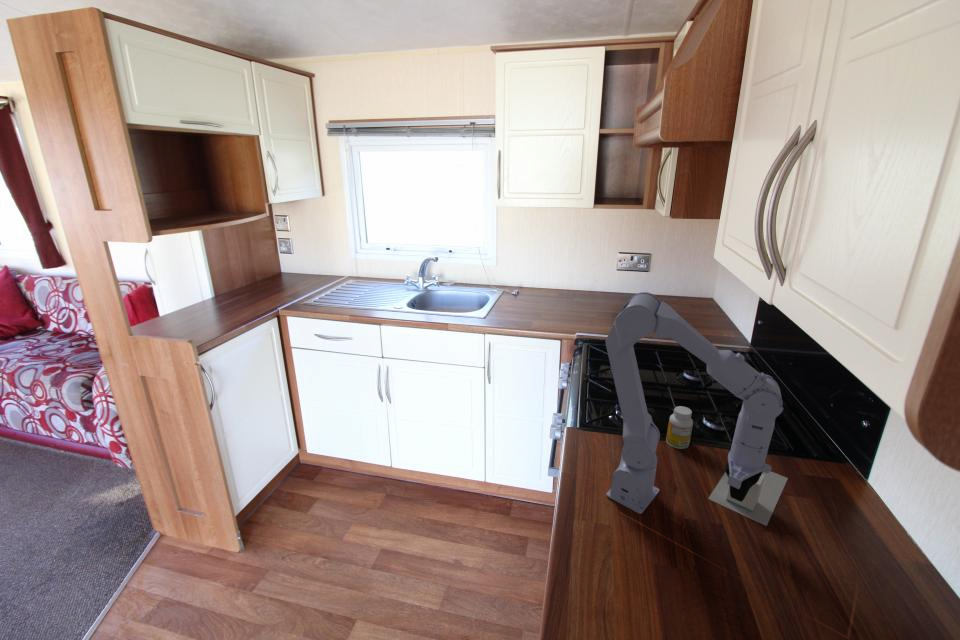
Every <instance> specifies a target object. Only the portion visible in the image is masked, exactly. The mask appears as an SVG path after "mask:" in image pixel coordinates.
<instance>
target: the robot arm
mask: <svg viewBox="0 0 960 640" xmlns="http://www.w3.org/2000/svg"><path fill="white" fill-rule="evenodd" d="M652 332H653V333H654V334H653V336H652V339H667V338H669V339H672V340H673V341H675V342H676V343H677V344H678V345H680V346H681V347H683V348H684V349H685V350H686V351H688V352H690V353H691V354H692V355H694V356H695V357H697V358H698V359H699V360H700V361H702V362H703V363H705V364H706V372H707V375H708V376H710V377H711V378H712V379H714V380H715V381H716V382H718V383H719V384H720V385H721V386H722V387H723V388H725V389H726V390H727V391H729V392H730V393H731V394H733V395H734V397H736V398H739V399H740V400H741V401H742V405H741V409H740V412H739V413H738V417H737V421H736V425H735V430H734V434H733V439H732V442H731V448H730V451H729V452H728V453H727V454H728V455H727V461H728V462H726V463H727V464H726V465H725V468H724V473H725V472H726V474H727V476H728V482H727V484H728V485H730V496H731V498H734V499H736V500H738V501H740V502H742V501H743V500H744V498H745V496H746V495H747V493H748V491H749V489H750V488H751V487H752V486H753V485H755V484H756V483H757V482H758V480H759V478H760V476H761V475H762V473H763V472H765V473H769V472H770V471H771V470H772V466H771V464H769V463H766V460H767V459H766V458H767V454H768V452H769V447H770V444H771V440H772V436H773V433H774V429H775V424H776V423H775V422H776V419H777V417H779V416H780V415H781V414H782V413H783V410H784V407H783V404H784V402H783V399H782V393H781V392H782V391H781V388H780V386H779V384H778V382H777V381H776V380H775V379H774V377H773V376H771V375H768V374H766V373H764V372H760V371H758V370H756V368H754V367H752V366H751V365H750V364H748V362H746V361H745V356H744V355H743V354H741V352H737V353H735V352H734V351H732V350H730V349H718V348H717V346H716V345H714V344H713V343H712V342H710V341H709V340H708V339H707V338H706V337H705V336H704V335H703V334H701V332H699V331H698V330H697V329H696V328H695V327H693V326H692V325H691V324H690V323H688V322H687V321H686V319H684V318H683V317H682V316H681V315H679V314H678V312H676V311H675V310H674V309H673V308H672V306H671V305H669V304H668V303H666V302H664V301H663V300H661V301H660V299H659V298H658V297H657V296H656V295H655V294H653V293H651V292H647V291H644V292H643V291H642V292H638V293H636V294H634V295H633V296H632V297H630V298H629V300H627V302H626V303H624V305H623V306H622V308H621V310H620V312H619V313H618V314H617V316H616V317H615V318H614V321H613V324H612V326H611V328H610V330H609V333H608V334H607V337H606V339H605V347H606V351H607V356H608V359H609V364H610V369H611V374H612V377H613V381H614V382H613V383H614V386H615V391H616V394H617V395H616V396H617V399H618V404H619V407H620V413H621V418H622V422H623V423H622V424H623V425H622V426H623V428H622V440H623V447H622V450H621V456H620V463H619V465H618V467H617V468H616V470H615V471H614V472H613V474H612V480H611V487H610V489H609V490H608V491H607V492H606V494H605V495H606V497H607V498H609V499H611V500H613V501H615V502H616V503H619V504H620V505H623V506H624V507H626V508H628V509H629V510H632V511H634V512H635V513H637V514H640V515H641V514H643V512H644V511H645V510H646V509H647V507H649V505H650V504H651V502H652V501H653V500H654V499H655V498H656V496H657V495H658V494H659V493H660V489H659V487H657V486H655V485H654V484H655V478H656V472H657V467H658V457H657V454H656V453H657V448H658V443H659V441H660V438H661V434H660V430H659V428H658V427H657V426H656V424H655V423H654V421H653V418H652V417H653V416H652V415H651V414H650V413H649V412H648V408H647V404H646V399H645V398H646V397H645V394H644V389H643V384H642V380H641V375H640V371H639V367H638V366H639V365H638V362H637V356H636V353H635V347H634V345H635V344H636V343H637V342H638V341H640V340H642V339H643V338H646V337H647V336H649V335H651V334H652Z"/></svg>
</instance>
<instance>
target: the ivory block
mask: <svg viewBox="0 0 960 640" xmlns="http://www.w3.org/2000/svg"><path fill="white" fill-rule="evenodd" d="M764 477H765V475H763V474H762V475H761V476H760V478H759V480H758V482H757V483H756V484H755V485H753V486H752V487H751V488H750V489H749V491H748V493H747V495H746V496H745V498H744V500H743V501H742V502H740V501H738V500H736V499H734V498H731V496H730V487H729V491H728V495H727V499H726V501H728V502H730V503H732V504H735V505H737V506H739V507H741V508H743V509H745V510H748V511H750V512H752V513H753V511H754V509H755V507H756V505H757V503H758V499H759V496H760V492H761V488H762V485H763V481H764Z"/></svg>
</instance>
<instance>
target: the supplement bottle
mask: <svg viewBox="0 0 960 640" xmlns="http://www.w3.org/2000/svg"><path fill="white" fill-rule="evenodd" d="M692 414H693V412H692V410H691V409H690V408H689V407H686V406H683V405H682V406H681V405H679V406H676V407H674V409H673V413H672V414H671V415H670V416H669V421H668V425H667V432H666V438H665V441H666V443H667V444H668V445H669V446H670V447H672V448H676V449H679V450H680V449H681V450H683V449H687V448H689V446H690V442H691V436H692V432H693V431H692V430H693V426H694V421H693V419H692V418H691V417H692Z"/></svg>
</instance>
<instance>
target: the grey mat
mask: <svg viewBox="0 0 960 640" xmlns="http://www.w3.org/2000/svg"><path fill="white" fill-rule="evenodd" d="M762 474H763V475H765V477H764V481H763V485H762V488H761V492H760V496H759V499H758V503H757V505H756V507H755V509H754V511H753V513H752V512H750V511H748V510H745V509H743V508H741V507H739V506H737V505H735V504H732V503H730V502H728V501H726V499H727V495H728V491H729V487H730V485H728V484H727V482H728V476H727V474H726V472H725V471H724V473H723V475H722V477H721V478H720V480H719V481H718V483H717V484H716V486H715V487H714V489H713V490H712V492H711V493H710V495H709V497H708V498H707V499H708V500H709V501H711V502H713V503H716V504H719V505H720V506H722V507H725V508H726V509H728V510H731V511H733V512H735V513H738V514H740V515H741V516H744V517H746V518H748V519H750V520H752V521H755V522H756V523H759V524H761V525H763V526H764V527H767V526H768V523H769V521H770V519H771V517H772V515H773V513H774V510H775V508H776V505H777V504H778V502H779V499H780V497H781V495H782V493H783V491H784V488H785V485H786V484H787V481H788V479H789V478H788V477H786V476H783V475H780V474H779V473H776V472H773V471H771V470H770V472H769V473H765V472H763V473H762Z"/></svg>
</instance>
